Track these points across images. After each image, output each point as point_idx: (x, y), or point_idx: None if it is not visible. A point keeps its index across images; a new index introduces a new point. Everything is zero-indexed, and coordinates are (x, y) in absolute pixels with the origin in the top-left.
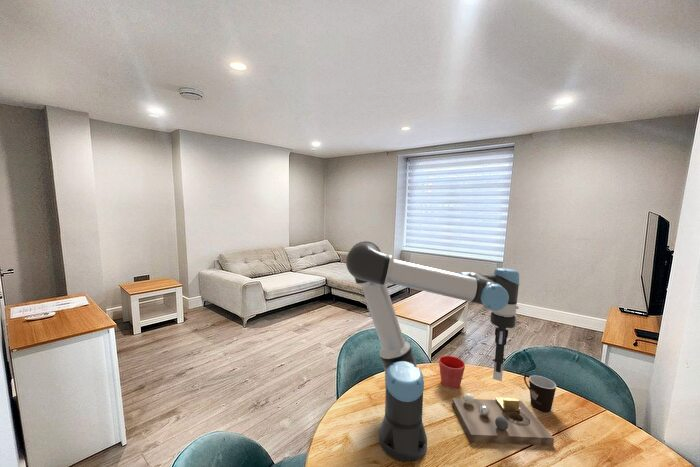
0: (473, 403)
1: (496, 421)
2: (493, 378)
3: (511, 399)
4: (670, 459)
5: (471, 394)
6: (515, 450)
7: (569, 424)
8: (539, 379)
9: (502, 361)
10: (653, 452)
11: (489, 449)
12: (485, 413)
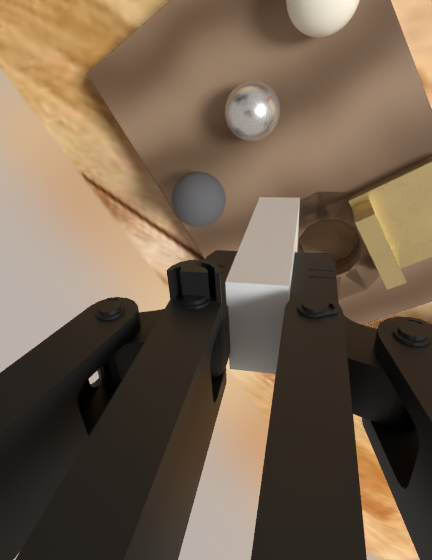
0: (342, 29)
1: (179, 180)
2: (259, 202)
3: (382, 254)
4: (370, 548)
5: (338, 5)
6: (171, 231)
7: None
8: None
9: (88, 400)
10: (382, 533)
11: (116, 148)
12: (226, 122)
